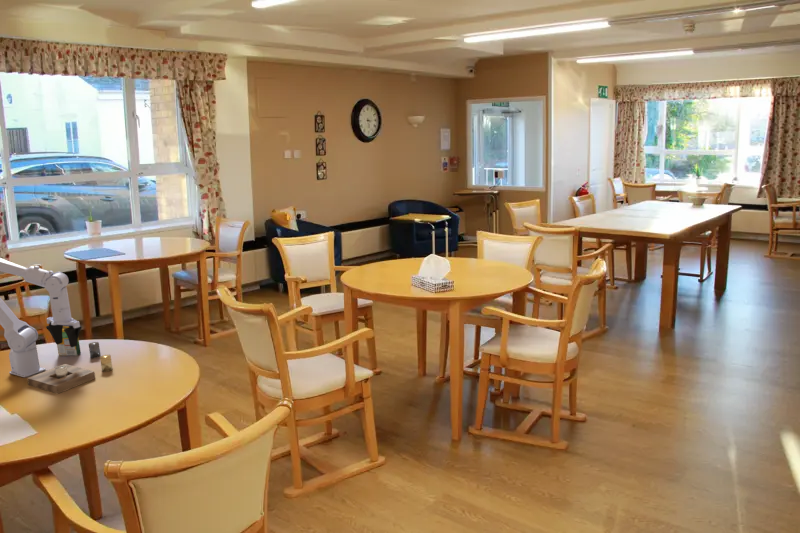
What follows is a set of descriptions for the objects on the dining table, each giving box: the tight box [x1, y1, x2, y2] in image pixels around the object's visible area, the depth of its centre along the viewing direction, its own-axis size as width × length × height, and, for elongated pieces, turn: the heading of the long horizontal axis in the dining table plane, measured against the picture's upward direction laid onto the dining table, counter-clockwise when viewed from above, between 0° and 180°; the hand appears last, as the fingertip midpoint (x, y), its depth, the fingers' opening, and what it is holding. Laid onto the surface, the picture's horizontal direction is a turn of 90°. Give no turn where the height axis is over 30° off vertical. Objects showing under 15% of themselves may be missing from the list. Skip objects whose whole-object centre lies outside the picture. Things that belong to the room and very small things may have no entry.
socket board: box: [26, 363, 96, 394], centre depth 235 cm, size 16×14×2 cm
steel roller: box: [54, 365, 68, 379], centre depth 235 cm, size 4×4×5 cm
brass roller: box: [99, 354, 114, 373], centre depth 244 cm, size 4×4×5 cm
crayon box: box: [56, 325, 82, 357], centre depth 260 cm, size 7×3×12 cm, turn 85°
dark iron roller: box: [88, 341, 102, 359], centre depth 258 cm, size 4×4×5 cm
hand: (66, 344), depth 243 cm, fingers open, 7 cm apart
